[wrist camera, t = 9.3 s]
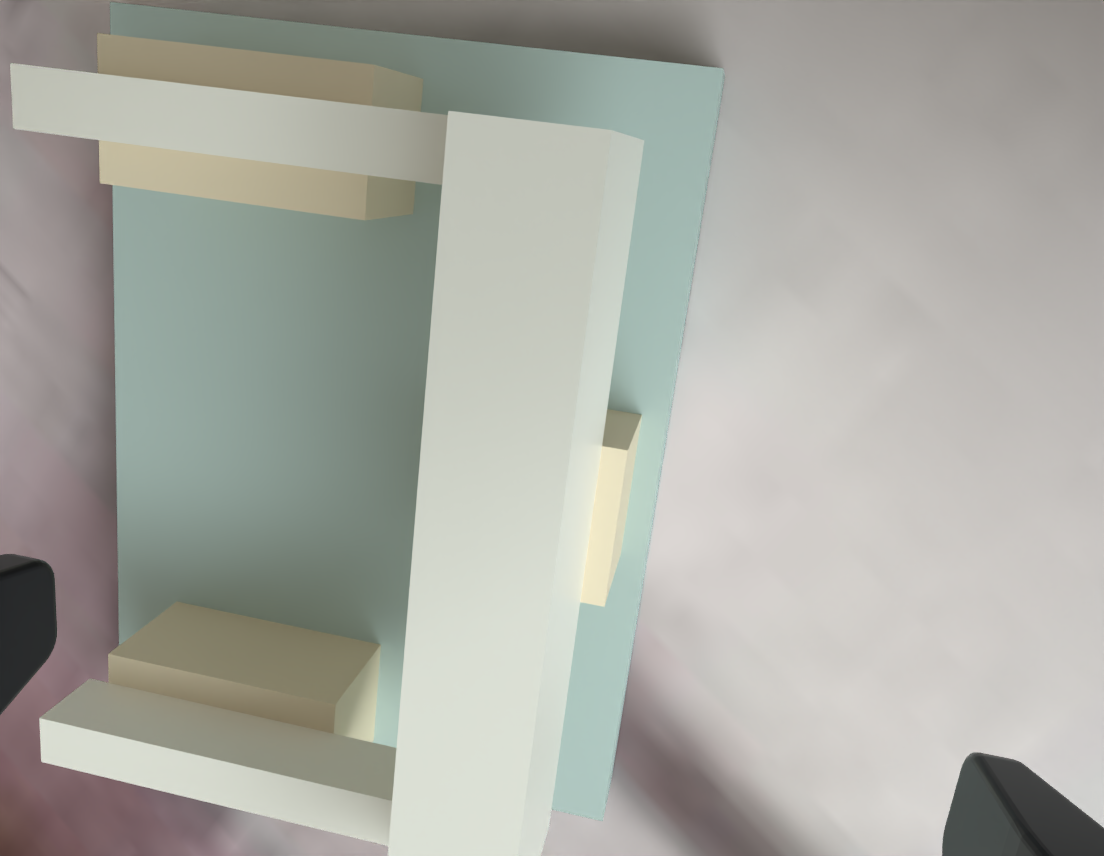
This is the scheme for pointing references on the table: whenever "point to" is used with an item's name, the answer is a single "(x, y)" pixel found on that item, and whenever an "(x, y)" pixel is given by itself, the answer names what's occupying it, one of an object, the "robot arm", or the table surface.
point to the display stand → (353, 372)
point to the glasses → (444, 471)
